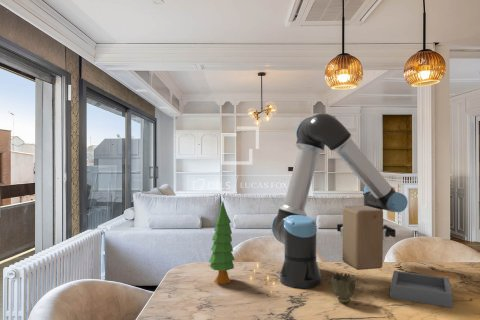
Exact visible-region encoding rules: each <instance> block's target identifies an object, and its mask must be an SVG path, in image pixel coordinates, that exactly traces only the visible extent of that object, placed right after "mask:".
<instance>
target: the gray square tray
mask: <svg viewBox="0 0 480 320" xmlns="http://www.w3.org/2000/svg"><path fill="white" fill-rule="evenodd" d="M391 276H392V277H391V281H390V293H389V294H390V297H389V298H391V299H396V300H402V301H403V300H404V301H407V302H409V301H410V302H415V303H421V304H427V305H432V306H438V307H439V306H440V307H444V308H445V307H446V308H451V309H453V306H454V304H453V299H454V298H453V296H454V295H453V291H452V287H451V282H450V279H449V277H445V276H437V275H429V274H423V273H417V272H416V273H414V272H407V271H398V270H393V274H392V275H391Z"/></svg>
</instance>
